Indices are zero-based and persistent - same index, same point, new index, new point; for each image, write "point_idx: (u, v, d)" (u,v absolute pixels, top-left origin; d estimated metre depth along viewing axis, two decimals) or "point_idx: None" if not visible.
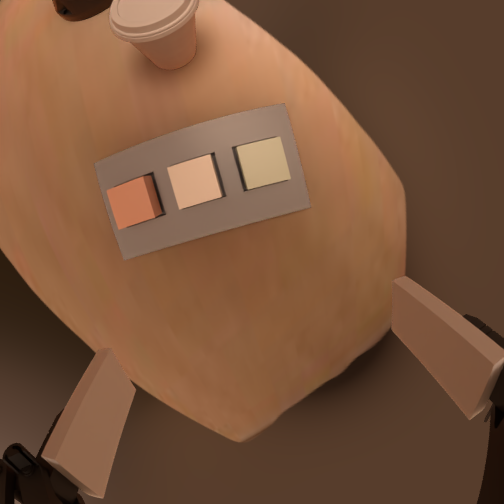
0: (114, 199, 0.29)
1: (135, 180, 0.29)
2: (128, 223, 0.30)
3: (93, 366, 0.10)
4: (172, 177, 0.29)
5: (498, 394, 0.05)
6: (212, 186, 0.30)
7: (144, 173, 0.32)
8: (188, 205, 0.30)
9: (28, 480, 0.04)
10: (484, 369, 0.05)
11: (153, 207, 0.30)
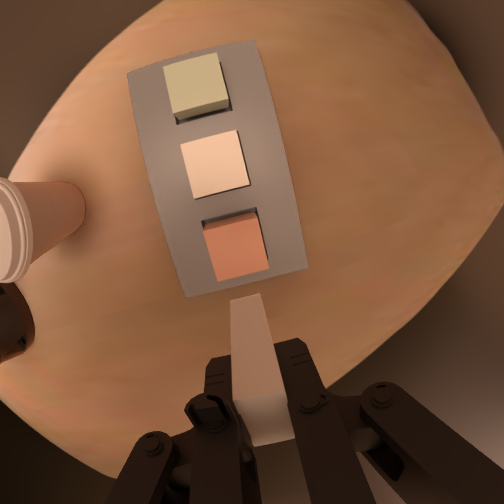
0: (230, 271, 0.26)
1: (207, 241, 0.25)
2: (261, 253, 0.26)
3: (237, 312, 0.12)
4: (207, 191, 0.24)
5: None
6: (221, 140, 0.22)
7: (202, 232, 0.28)
8: (244, 172, 0.23)
9: (211, 439, 0.06)
10: None
11: (244, 219, 0.25)
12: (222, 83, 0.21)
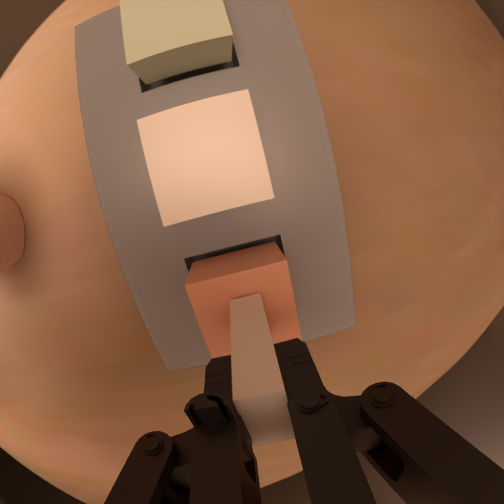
0: None
1: (194, 302, 0.13)
2: (291, 321, 0.14)
3: (237, 312, 0.12)
4: (189, 212, 0.12)
5: None
6: (218, 108, 0.11)
7: None
8: (265, 173, 0.11)
9: (211, 439, 0.06)
10: None
11: (262, 261, 0.14)
12: (222, 11, 0.09)
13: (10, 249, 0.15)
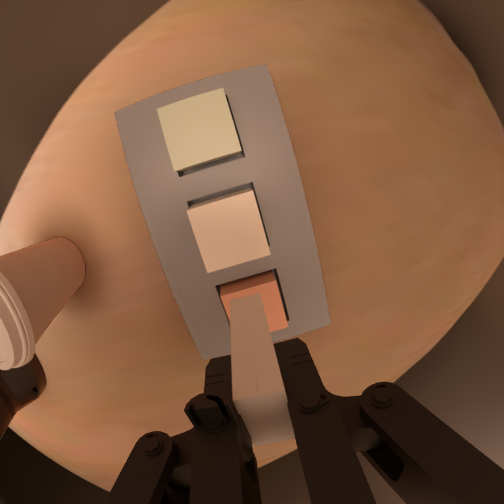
0: None
1: (225, 305, 0.24)
2: (281, 314, 0.25)
3: (237, 312, 0.12)
4: (222, 264, 0.21)
5: None
6: (236, 204, 0.20)
7: (217, 297, 0.26)
8: (265, 241, 0.21)
9: (211, 439, 0.06)
10: None
11: (262, 281, 0.24)
12: (233, 130, 0.18)
13: (77, 281, 0.25)
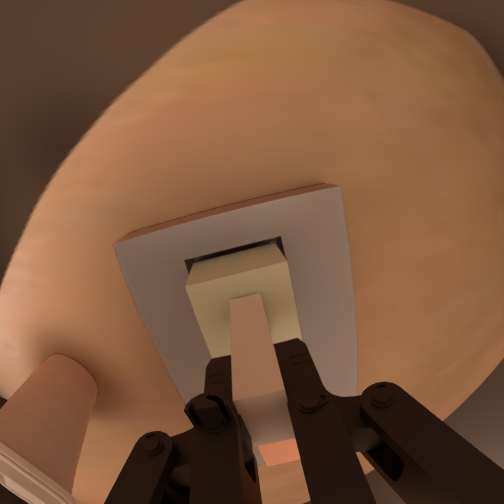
0: (280, 460, 0.20)
1: (260, 448, 0.19)
2: None
3: (237, 312, 0.12)
4: None
5: None
6: None
7: None
8: None
9: (211, 439, 0.06)
10: None
11: None
12: (295, 321, 0.14)
13: (92, 407, 0.20)
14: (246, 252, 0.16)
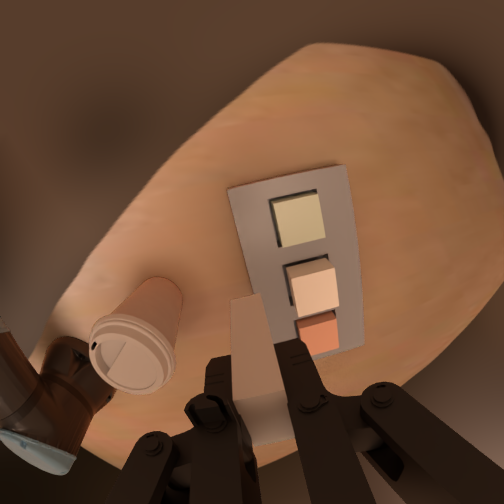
0: (313, 351, 0.35)
1: (301, 334, 0.34)
2: (335, 339, 0.35)
3: (237, 312, 0.12)
4: (308, 312, 0.31)
5: None
6: (323, 275, 0.30)
7: (293, 327, 0.36)
8: (337, 298, 0.31)
9: (212, 439, 0.06)
10: None
11: (327, 318, 0.34)
12: (321, 224, 0.30)
13: None
14: (296, 194, 0.32)
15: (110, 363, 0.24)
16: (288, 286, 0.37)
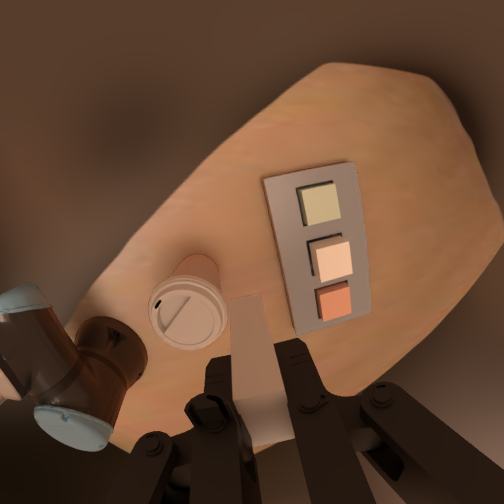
0: (331, 315, 0.42)
1: (321, 300, 0.41)
2: (348, 305, 0.42)
3: (237, 312, 0.12)
4: (329, 278, 0.38)
5: None
6: (340, 247, 0.37)
7: (314, 296, 0.43)
8: (351, 266, 0.38)
9: (212, 439, 0.06)
10: None
11: (341, 286, 0.42)
12: (338, 207, 0.38)
13: None
14: (317, 184, 0.39)
15: (167, 323, 0.31)
16: (308, 261, 0.44)
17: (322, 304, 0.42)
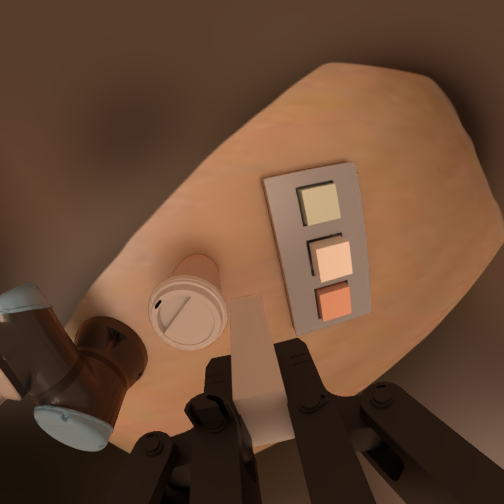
0: (331, 315, 0.42)
1: (321, 300, 0.41)
2: (348, 305, 0.42)
3: (237, 312, 0.12)
4: (329, 278, 0.38)
5: None
6: (340, 247, 0.37)
7: (314, 296, 0.43)
8: (351, 266, 0.38)
9: (212, 439, 0.06)
10: None
11: (341, 286, 0.42)
12: (338, 207, 0.38)
13: None
14: (317, 184, 0.39)
15: (167, 323, 0.31)
16: (308, 261, 0.44)
17: (322, 304, 0.42)
